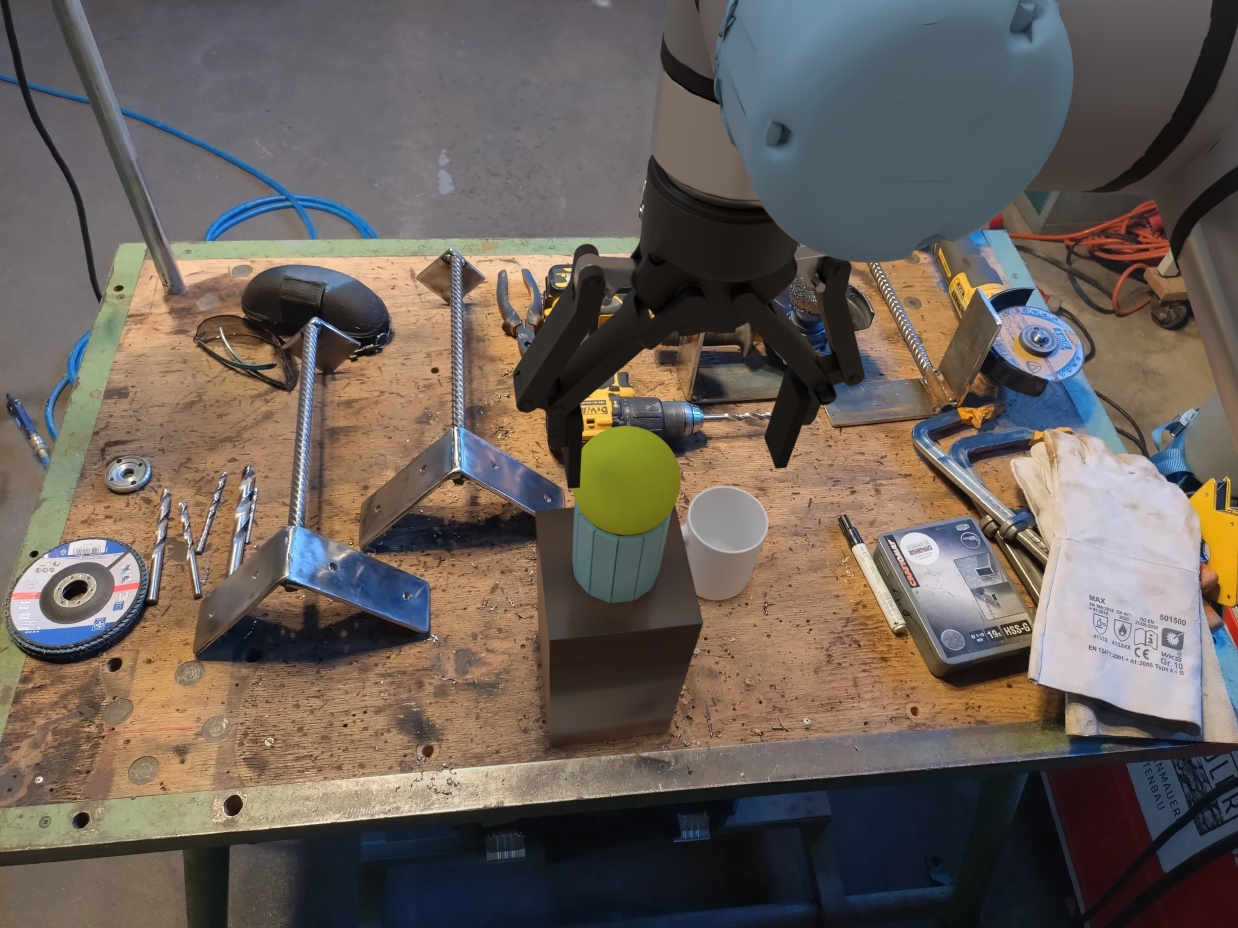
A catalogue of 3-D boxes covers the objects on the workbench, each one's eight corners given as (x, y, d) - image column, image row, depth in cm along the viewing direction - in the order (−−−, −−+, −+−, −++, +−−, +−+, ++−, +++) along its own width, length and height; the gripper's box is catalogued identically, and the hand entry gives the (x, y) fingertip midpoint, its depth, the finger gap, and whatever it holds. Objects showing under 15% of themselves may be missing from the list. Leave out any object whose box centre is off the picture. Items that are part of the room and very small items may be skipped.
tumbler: (665, 597, 63) (679, 535, 56) (578, 606, 62) (582, 544, 55) (650, 525, 68) (661, 458, 60) (568, 532, 67) (570, 465, 59)
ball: (682, 551, 57) (698, 486, 51) (576, 560, 56) (580, 496, 50) (663, 467, 62) (675, 400, 56) (565, 474, 61) (567, 406, 55)
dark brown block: (668, 732, 81) (703, 623, 62) (549, 748, 79) (548, 640, 60) (647, 625, 88) (674, 498, 69) (538, 637, 87) (535, 510, 68)
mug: (640, 545, 95) (649, 492, 86) (738, 535, 96) (756, 481, 88) (654, 610, 89) (665, 560, 81) (757, 598, 91) (778, 548, 83)
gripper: (956, 112, 40) (836, 404, 56) (443, 125, 36) (477, 434, 52) (1028, 200, 35) (875, 489, 52) (450, 226, 31) (484, 529, 48)
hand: (675, 462), depth 52 cm, fingers open, 13 cm apart
